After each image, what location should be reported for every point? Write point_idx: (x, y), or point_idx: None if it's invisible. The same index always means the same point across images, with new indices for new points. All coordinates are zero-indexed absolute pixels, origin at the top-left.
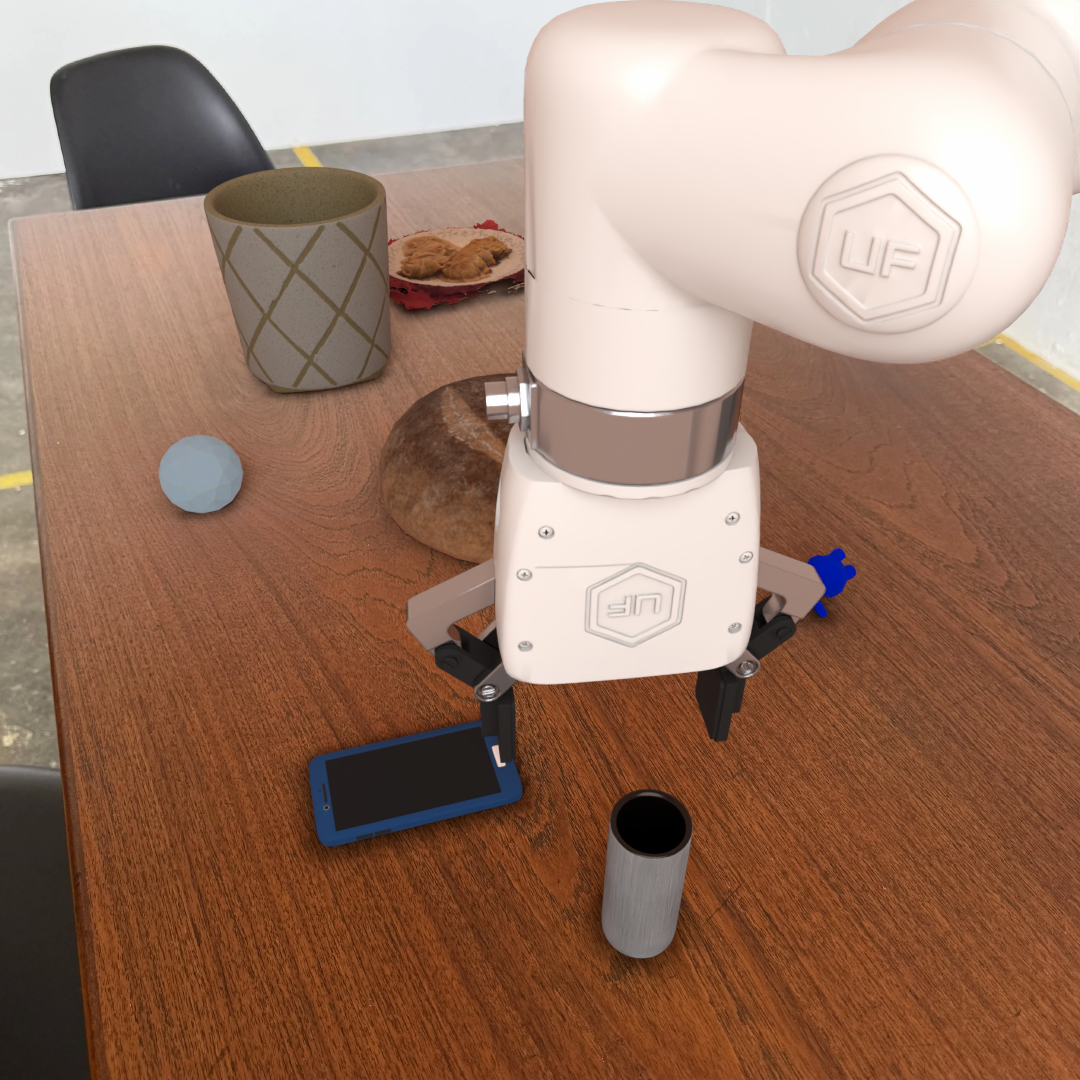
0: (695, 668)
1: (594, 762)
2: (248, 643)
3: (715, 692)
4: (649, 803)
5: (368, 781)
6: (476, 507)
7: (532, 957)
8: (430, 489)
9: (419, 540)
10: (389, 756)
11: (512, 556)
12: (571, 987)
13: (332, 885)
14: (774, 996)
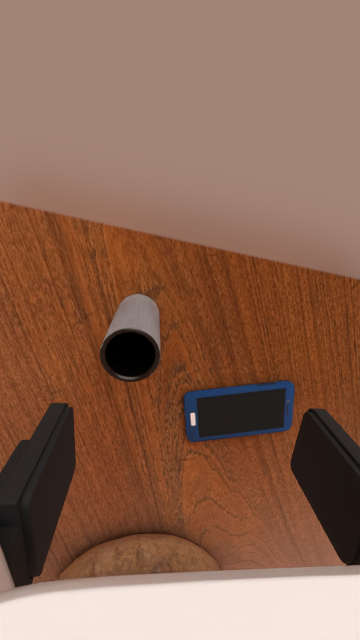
0: (71, 605)
1: (139, 409)
2: (305, 496)
3: (45, 481)
4: (125, 371)
5: (264, 413)
6: None
7: (199, 305)
8: None
9: (207, 553)
10: (250, 425)
11: None
12: (182, 286)
13: (289, 360)
14: (71, 259)
